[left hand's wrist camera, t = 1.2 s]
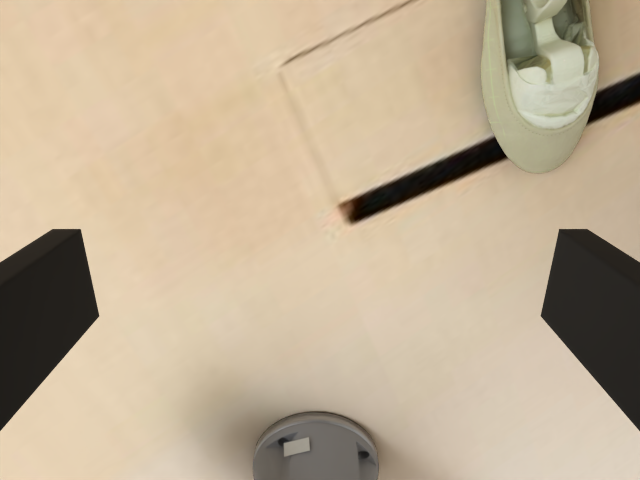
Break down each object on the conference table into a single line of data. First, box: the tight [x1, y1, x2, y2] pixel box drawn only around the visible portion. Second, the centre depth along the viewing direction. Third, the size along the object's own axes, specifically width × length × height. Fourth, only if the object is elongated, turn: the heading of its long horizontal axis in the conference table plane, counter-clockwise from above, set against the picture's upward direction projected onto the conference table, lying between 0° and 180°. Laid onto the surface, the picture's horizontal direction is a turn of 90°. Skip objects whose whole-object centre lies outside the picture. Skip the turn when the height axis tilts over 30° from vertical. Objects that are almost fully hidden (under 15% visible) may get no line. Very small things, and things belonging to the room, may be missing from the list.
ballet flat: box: [481, 0, 599, 173], centre depth 33 cm, size 8×25×8 cm, turn 18°
